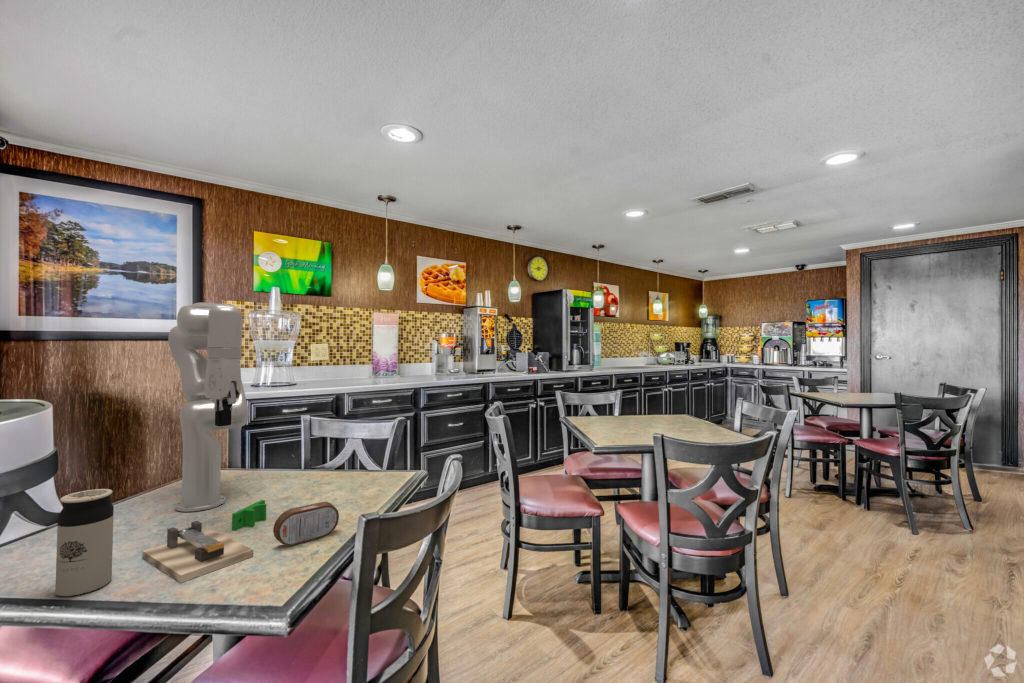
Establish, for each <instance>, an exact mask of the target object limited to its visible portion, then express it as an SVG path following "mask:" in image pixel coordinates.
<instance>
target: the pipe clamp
mask: <svg viewBox="0 0 1024 683" xmlns="http://www.w3.org/2000/svg"><path fill="white" fill-rule="evenodd" d="M266 520H267V503H266V500H265V499H261V500H259V501H256V502H254V503H252V504H250V505H248V506H246V507H244V508H242V509H239V510H238V511H236V512H233V513H232V514H231V532H237V531H239V530H241V529H242V528H244V527H245V528H246V527H247V528H255V527H256V523H258V522H265V521H266ZM257 521H258V522H257ZM240 528H241V529H240ZM238 529H239V530H238Z"/></svg>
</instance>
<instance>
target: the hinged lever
mask: <svg viewBox="0 0 1024 683" xmlns="http://www.w3.org/2000/svg"><path fill="white" fill-rule="evenodd" d="M203 533H204V532H202V531H201V532H199V531H197V530H194V529H193V528H192V527H191V526H190V527H188V528H187V527H186V528H183V529H180V530H178V538H180V539H184V540H185V541H187V542H189V543H191V544H193V545H195V546H197V547H199V548H201V549H203V550H204V551H206V552H208V553H209V552H212V551H215V550H218V549H221V548H224V544H223V543H221V542H219V541H217V540H215V539H213V538H211V537H209V536H207V535H205V534H203Z"/></svg>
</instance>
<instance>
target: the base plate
mask: <svg viewBox="0 0 1024 683" xmlns="http://www.w3.org/2000/svg"><path fill="white" fill-rule="evenodd" d="M202 524H203V522H201V521H199V520H195V521H191V522H190V525H191V526H190V527H192V528H193V529H194V530H197V531H199V532H201V533H203V534H205V535H207V536H209V537H211V538H213V539H215V540H217V541H219V542H221V543H223V544H224V548H221V549H218V550H215V551H212V552H209V553H208V552H206V551H204V550H203V549H201V548H199V547H197V546H195V545H193V544H191V543H189V542H187V541H185V540H184V539H182V538H180V539H179V537H178V531H179V529H178V528H176V527H174V526H172V527H169V528H167V529H166V536H167V537H166V543H165V544H161V545H157V546H154V547H152V548H148V549H145V550H144V549H143V550H142V551H141V552H142V553H141V557H142V559H144V560H145V561H147V562H148V563H150V565H152V566H154V567H155V568H157V569H158V570H160V571H162V572H163V573H165V574H166V575H168V576H169V577H171V578H172V579H174V580H175V581H177V582H179V583H180V584H181V583H186V582H188V581H191V580H192V579H193V580H194V579H196V578H199V577H201V576H203V575H207V574H209V573H211V572H215V571H217V570H221V569H223V568H225V567H228V566H231V565H234V564H236V563H239V562H242V561H244V560H246V559H250V558H252V557H254V549H253V548H251V547H248V546H247V545H244V544H242V543H240V542H238V541H236V540H233V539H232V538H229V537H227V536H225V535H223V534H220V533H218V532H216V531H214V530H211V529H210V530H209V531H205V532H202Z"/></svg>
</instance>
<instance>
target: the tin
mask: <svg viewBox="0 0 1024 683" xmlns="http://www.w3.org/2000/svg"><path fill="white" fill-rule="evenodd" d="M339 514H340V513H339V510H338V509H337V508H336V507H335V506H334V504H333V503H331V502H328V501H321V502H316V503H311V504H307V505H302V506H301V505H300V506H297V507H293V508H289V509H287V510H285V511H284V512H282V513H281V514H280V515H279V516H278V517H277V519H275V522H274V525H273V527H272V529H273V530H272V532H273V537H274V538H275V540H276V541H278V542H279V543H280V544H281V545H284V546H286V547H287V546H289V547H292V546H295V545H300V544H303V543H307V542H311V541H314V539H315V540H318V539H321V538H325V537H327V536H329V535H330V534H331V533H333V532H334V531H335V529H336V528H337V526H338V523H339V519H340V515H339Z"/></svg>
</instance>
